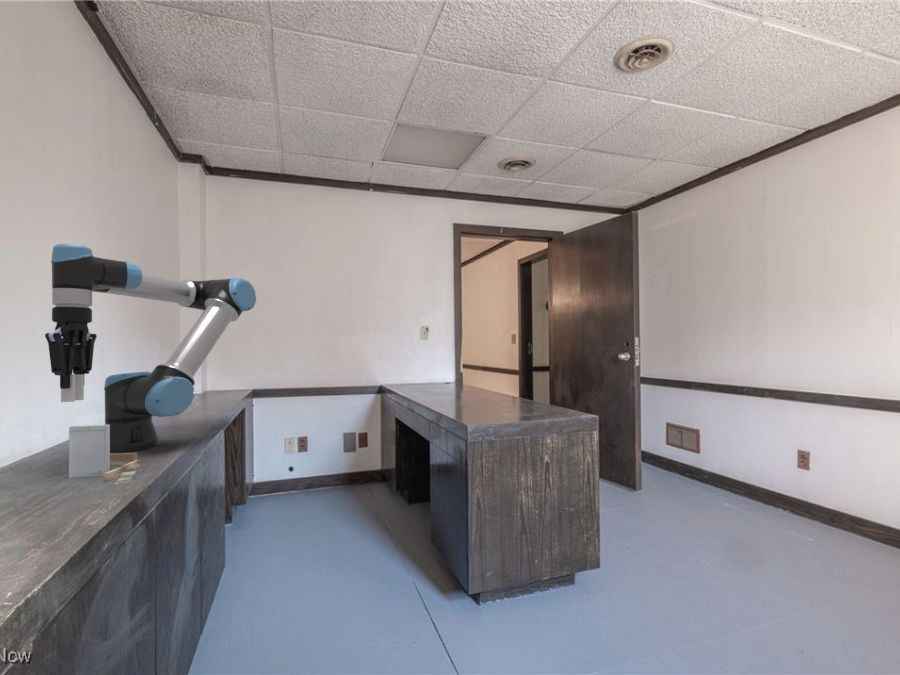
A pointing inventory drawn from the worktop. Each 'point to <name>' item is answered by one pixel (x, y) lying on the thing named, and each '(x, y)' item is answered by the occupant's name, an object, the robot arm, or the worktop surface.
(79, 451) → the hard drive
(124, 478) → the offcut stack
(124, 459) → the birch rack
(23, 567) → the worktop surface
